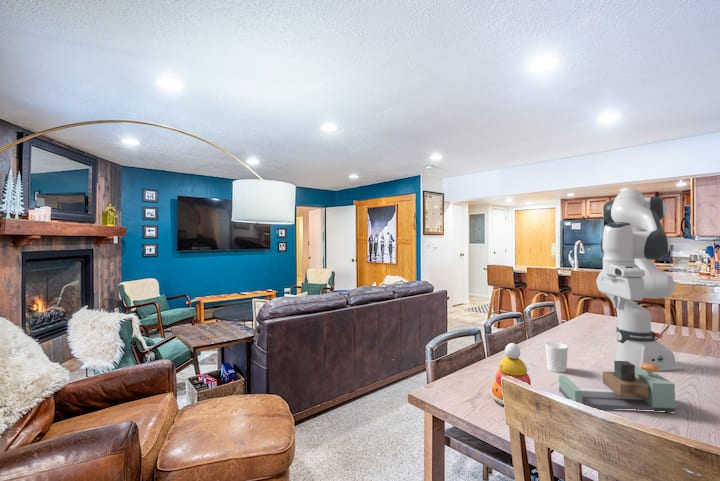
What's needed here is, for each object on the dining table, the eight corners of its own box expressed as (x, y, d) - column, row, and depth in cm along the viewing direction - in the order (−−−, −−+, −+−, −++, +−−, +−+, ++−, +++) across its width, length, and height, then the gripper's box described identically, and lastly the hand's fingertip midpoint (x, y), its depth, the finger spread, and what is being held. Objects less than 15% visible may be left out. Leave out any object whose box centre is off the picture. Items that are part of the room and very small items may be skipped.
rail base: (647, 394, 114) (647, 368, 114) (675, 413, 103) (674, 384, 102) (559, 390, 119) (558, 365, 119) (575, 407, 107) (574, 379, 107)
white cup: (560, 374, 132) (560, 349, 132) (541, 368, 139) (541, 344, 139) (572, 370, 136) (571, 346, 136) (553, 364, 143) (552, 341, 143)
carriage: (628, 384, 114) (628, 357, 114) (648, 398, 105) (648, 369, 104) (602, 383, 116) (602, 357, 116) (620, 396, 106) (620, 368, 106)
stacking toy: (488, 388, 122) (487, 335, 121) (532, 393, 118) (531, 337, 117) (492, 408, 108) (491, 347, 108) (541, 414, 104) (540, 351, 104)
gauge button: (652, 372, 111) (652, 363, 111) (662, 378, 106) (662, 368, 106) (637, 372, 111) (637, 362, 111) (647, 377, 107) (646, 367, 107)
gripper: (592, 266, 127) (593, 302, 127) (626, 272, 107) (627, 315, 107) (611, 266, 126) (611, 303, 126) (648, 272, 106) (649, 315, 106)
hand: (619, 308), depth 116 cm, fingers closed
